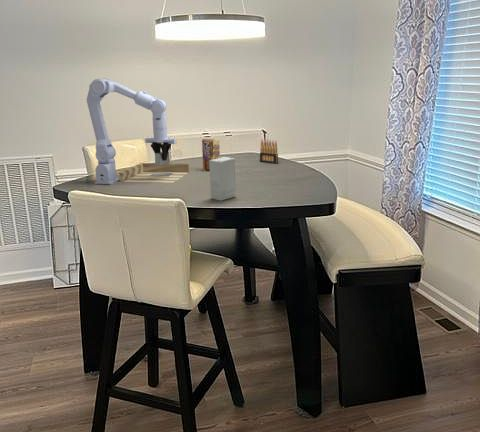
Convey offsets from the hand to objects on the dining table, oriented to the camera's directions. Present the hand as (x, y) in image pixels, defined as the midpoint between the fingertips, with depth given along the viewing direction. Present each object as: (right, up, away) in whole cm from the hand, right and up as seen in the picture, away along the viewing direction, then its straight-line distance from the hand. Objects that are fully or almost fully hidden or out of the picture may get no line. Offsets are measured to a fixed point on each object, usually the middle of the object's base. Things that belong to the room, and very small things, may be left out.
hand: (161, 160), depth 221 cm
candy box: (+20, -3, +22) cm, 31 cm away
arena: (-4, -7, +9) cm, 12 cm away
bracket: (-1, -2, +1) cm, 2 cm away
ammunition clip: (+49, +3, +41) cm, 64 cm away
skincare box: (+28, -18, -30) cm, 45 cm away
